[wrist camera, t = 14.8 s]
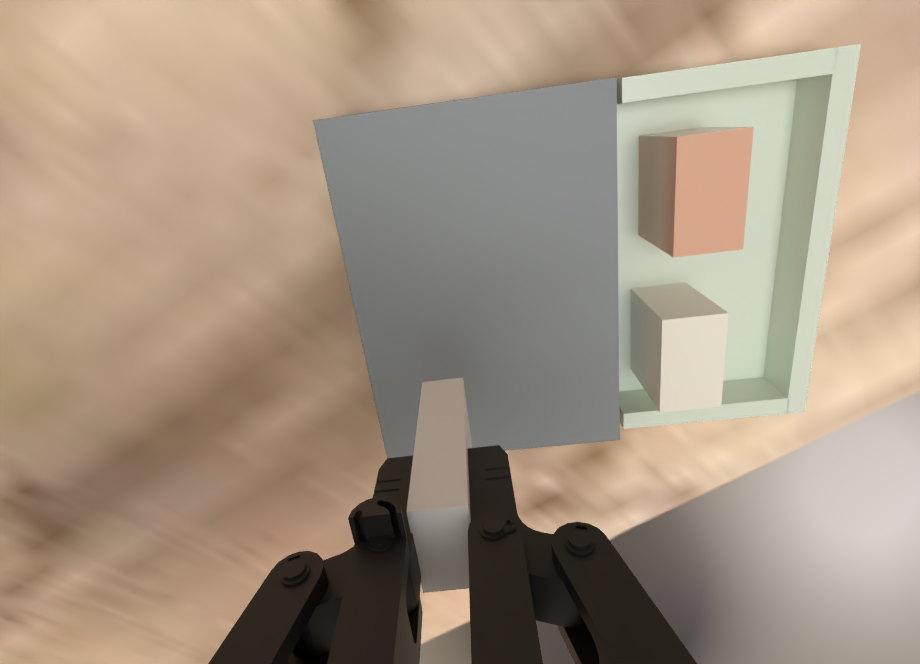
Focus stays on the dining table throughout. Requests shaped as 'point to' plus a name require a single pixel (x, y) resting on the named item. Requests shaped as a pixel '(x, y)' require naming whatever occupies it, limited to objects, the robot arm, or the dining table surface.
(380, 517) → the robot arm
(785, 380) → the tray
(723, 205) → the tile terracotta
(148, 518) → the dining table surface
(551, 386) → the grey rectangular slab
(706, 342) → the tile cream
